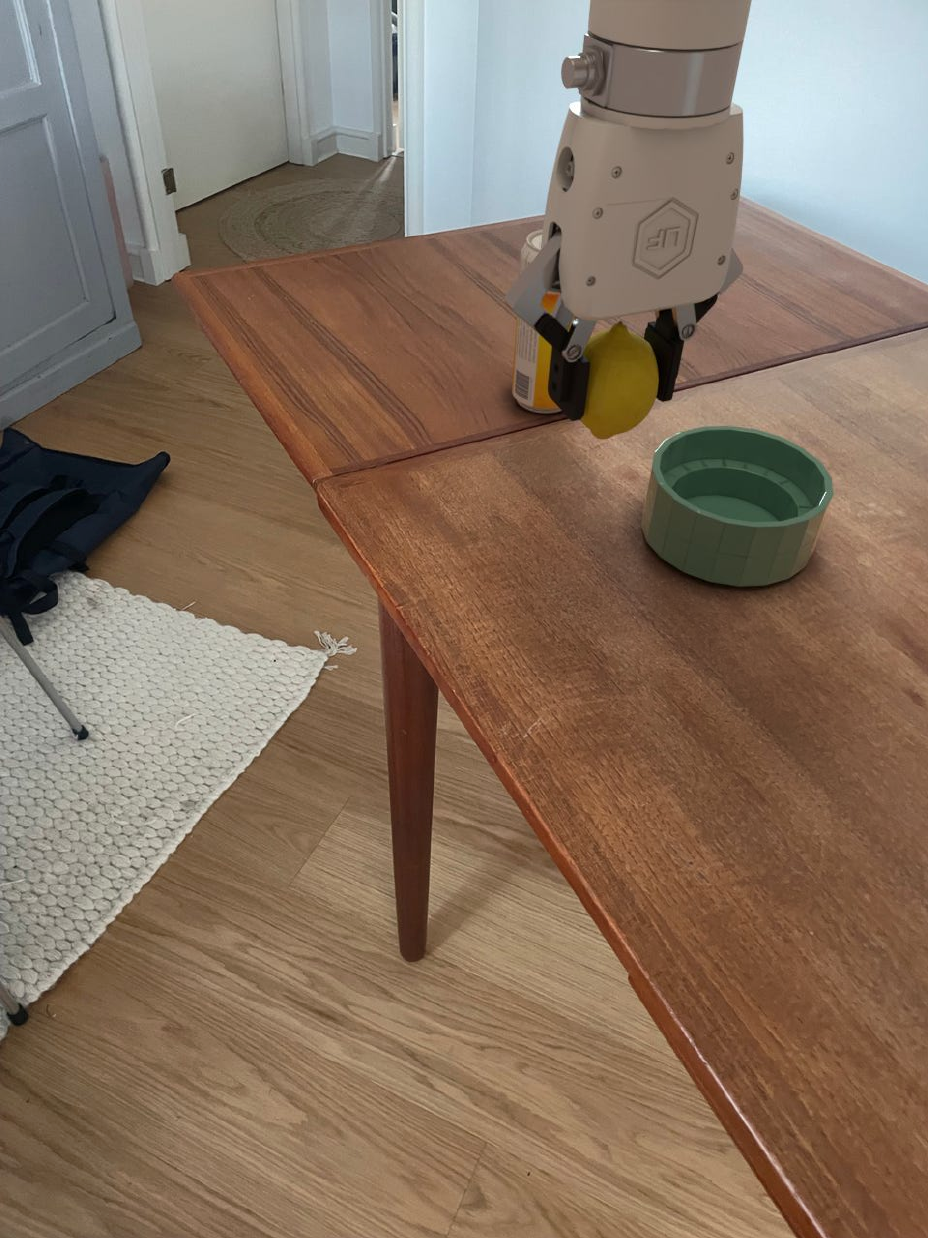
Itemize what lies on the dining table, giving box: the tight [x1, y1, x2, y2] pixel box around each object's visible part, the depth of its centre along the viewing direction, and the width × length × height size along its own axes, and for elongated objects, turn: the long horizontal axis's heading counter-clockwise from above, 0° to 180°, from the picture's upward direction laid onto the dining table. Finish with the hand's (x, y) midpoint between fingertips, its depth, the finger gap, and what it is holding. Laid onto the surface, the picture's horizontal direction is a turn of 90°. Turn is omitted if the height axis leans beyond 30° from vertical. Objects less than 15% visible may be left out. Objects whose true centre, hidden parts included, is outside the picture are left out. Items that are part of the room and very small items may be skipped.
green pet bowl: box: [640, 425, 835, 588], centre depth 72 cm, size 13×13×6 cm
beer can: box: [511, 229, 575, 414], centre depth 83 cm, size 6×6×15 cm
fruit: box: [579, 320, 659, 441], centre depth 58 cm, size 6×6×8 cm
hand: (611, 397), depth 59 cm, fingers closed on fruit, 5 cm apart
